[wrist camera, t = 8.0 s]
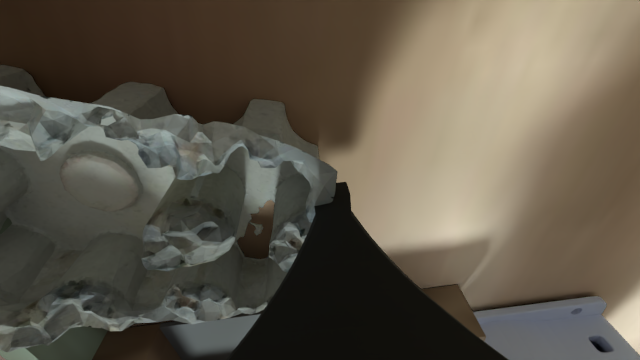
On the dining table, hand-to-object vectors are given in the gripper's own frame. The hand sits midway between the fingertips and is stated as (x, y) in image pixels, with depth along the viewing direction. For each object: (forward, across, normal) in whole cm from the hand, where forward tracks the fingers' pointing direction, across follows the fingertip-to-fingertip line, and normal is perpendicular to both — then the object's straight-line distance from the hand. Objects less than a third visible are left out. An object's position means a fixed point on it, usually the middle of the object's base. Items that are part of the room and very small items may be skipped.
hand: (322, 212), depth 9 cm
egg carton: (+2, +5, -1) cm, 6 cm away
